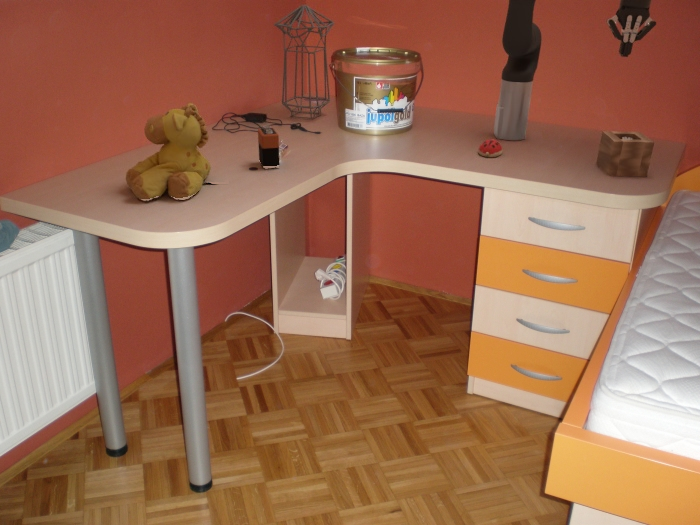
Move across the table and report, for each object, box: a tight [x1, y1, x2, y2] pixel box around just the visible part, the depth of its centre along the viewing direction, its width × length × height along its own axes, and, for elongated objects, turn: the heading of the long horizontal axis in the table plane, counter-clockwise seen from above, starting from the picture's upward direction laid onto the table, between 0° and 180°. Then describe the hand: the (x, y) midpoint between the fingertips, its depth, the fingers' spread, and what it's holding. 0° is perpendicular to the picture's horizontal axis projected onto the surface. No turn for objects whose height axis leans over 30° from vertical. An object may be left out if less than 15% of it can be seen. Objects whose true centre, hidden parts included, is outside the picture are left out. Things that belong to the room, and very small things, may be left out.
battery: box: [257, 124, 280, 166], centre depth 171 cm, size 4×7×10 cm, turn 17°
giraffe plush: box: [125, 102, 212, 200], centre depth 153 cm, size 20×24×19 cm
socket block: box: [595, 130, 655, 177], centre depth 173 cm, size 10×10×9 cm
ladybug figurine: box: [477, 138, 503, 158], centre depth 186 cm, size 7×10×4 cm
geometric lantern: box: [273, 4, 335, 120], centre depth 213 cm, size 16×16×35 cm
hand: (623, 56), depth 178 cm, fingers closed
